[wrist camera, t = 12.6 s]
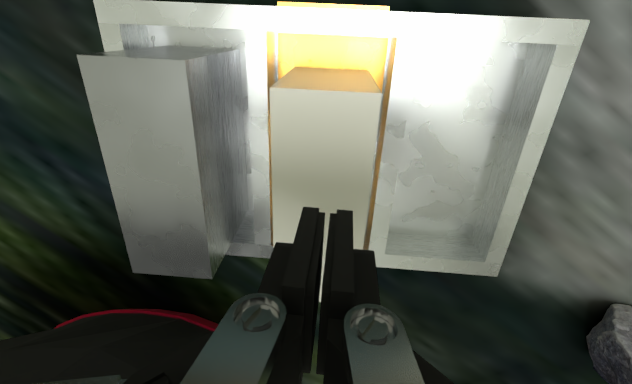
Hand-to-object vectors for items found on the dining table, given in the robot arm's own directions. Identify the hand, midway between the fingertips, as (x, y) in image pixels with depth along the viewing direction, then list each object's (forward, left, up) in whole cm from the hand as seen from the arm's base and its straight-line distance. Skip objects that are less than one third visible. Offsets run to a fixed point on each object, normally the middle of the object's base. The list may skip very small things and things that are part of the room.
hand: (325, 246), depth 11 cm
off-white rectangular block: (0, 0, -10) cm, 10 cm away
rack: (0, 0, -10) cm, 10 cm away
